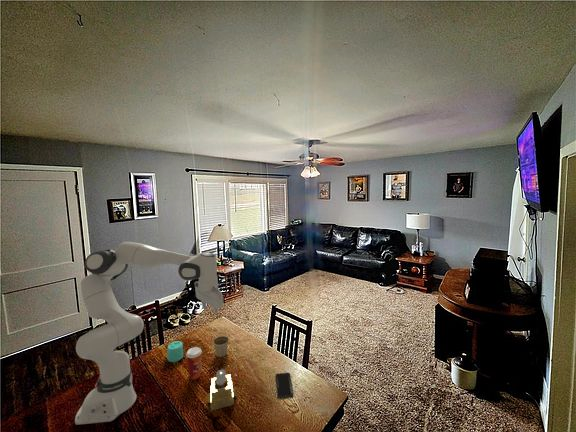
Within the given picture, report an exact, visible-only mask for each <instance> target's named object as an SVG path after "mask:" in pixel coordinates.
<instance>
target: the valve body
mask: <svg viewBox="0 0 576 432" xmlns="http://www.w3.org/2000/svg"><path fill="white" fill-rule="evenodd" d="M231 376H232V375H231V374H226V387H224V388H219V389H216V377H213V378H211V381H210V382H211V385H210V393H207V394H206V398H207V399H206V400H207V401H206V402H207V403H206V404H210V411H215V410H218V409H222V408H226V407H231V406H234V405H235V403H234V401H235V400H234V399H235V398H234V397H237V387H236V386H234V387H233V381H232V377H231Z"/></svg>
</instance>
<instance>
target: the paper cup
mask: <svg viewBox="0 0 576 432" xmlns="http://www.w3.org/2000/svg"><path fill="white" fill-rule="evenodd" d="M202 352H203V351H202V349H201V347H197V346H194V347H191V348H189V349H188V350H187V352H186V355H185V356H186V358H187V366H188V367H187V368H188V375H189V379H190V380H197V379H199V378H201V375H202V374H201V373H202Z"/></svg>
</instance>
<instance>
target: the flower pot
mask: <svg viewBox="0 0 576 432" xmlns="http://www.w3.org/2000/svg"><path fill="white" fill-rule="evenodd" d="M229 341H230V338H229V337H228V336H226V335H221V336H220V335H219V336H217V337H216V338H214V339H213V340H212V344H213V346H214V350H215V351H214V352H215V356H216V357H218V358H224V357H225V356H226V355H227V354H228V346H229Z"/></svg>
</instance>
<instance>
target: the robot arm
mask: <svg viewBox="0 0 576 432" xmlns="http://www.w3.org/2000/svg"><path fill="white" fill-rule="evenodd" d="M166 264H167V265H168V264H171V265H177V266H178V270H177V271H178V276H179V277H180V278H181V279H183V280H185V281H192V280H196V281H195V282H194V287H195V289H194V291H195V297H196V299H198V300H199V301H200V303H201V305H202V309H203V310H207V309H208V305H209V306H210V307H213V308H212V309H213V310H212V314H213V315H214V316H217V315H218V314H219V313H218V310H219V309H220V308H223V307H224V303H225V302H224V296H223V293H222V291H221V290H220V288H219V281H218V274H217V273H218V263H217V257H216V255H215V254H213V253H212V252H207V251H206V252H201V253H197V254H188V253H182V252H177V251H174V250H173V251H172V250H168V249H164V248H158V247H155V246H151V245H149V244H145V243H140V242H135V241H123V242H121V243H120V244H118V246H117V247H116V249H115V250H112V249H105V250H99V251H94V252H92V253H90V254H88V255H87V256H86V258H85V260H84V268H85V270H86V271H87V272H89V273H90V274H88V275H87V276H84V277H83V279H81V282H80V290H81V295H82V296H81V297H82V299H83V303H84V306H85V309H86V313H87V315H88V316H89V317H90V318H91V319H94V320H103V321H104V322H107V324H104V325H102V326H99V327H96V328H94V329H92V330H90V331H88V332H86V333H85V334H82V335H81V336H80V337H79V338H78V340H77V342H76V343H75V352H76V354H77V356H78V357H79V358H82V359H83V360H90V361H93V362H94V363H95V364H97V366H98V369H99V376H98V379H97V380H96V382H95V385H94V388H93V389H92V390H91V391H89V392H88V394H87V395H86V397H85V398H84V400H83V402H82V405H81V406H80V408H79V409H78V410H77V412H76V415H75V418H74V424H75V425H76V426H77V425H87V424H99V423H109V422H112V421H114V420H115V419H116V418H117V417H119V416H120V415H121V414H123V413H124V412H126V411H127V410H129V409H130V408H131V407H132V406H133V405H134V403H135V402H136V400H137V393H136V391H135V389H134V386H133V374H132V368H131V364H130V355H129V353H128V352H126V351H124V350H115V349H116V348H117V347H119V346H122V345H123V344H126V343H128V342H130V341H131V340H133V339H135V338H137V337H138V336H139V335H141V334H142V333H143V330H144V326H145V324H144V323H145V322H144V320H143V319H142V317H141V316H140V315H137V314H134V313H130V312H129V311H126V310H125V309H123V308H122V307H121V306H120V304H119V303H118V301H117V299H116V296H115V294H114V291H113V289H112V286H111V281H115V280H116V279H117V278H118V277H119V276H121V275H123V274H124V273H125V272H126V271H127V270H128V268H129V265H132V266H135V267H139V268H144V269H151V268H154V267H158V266H162V265H166ZM197 279H198V281H197Z"/></svg>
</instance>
